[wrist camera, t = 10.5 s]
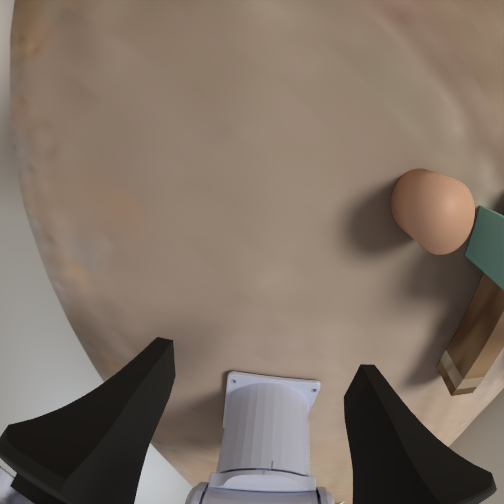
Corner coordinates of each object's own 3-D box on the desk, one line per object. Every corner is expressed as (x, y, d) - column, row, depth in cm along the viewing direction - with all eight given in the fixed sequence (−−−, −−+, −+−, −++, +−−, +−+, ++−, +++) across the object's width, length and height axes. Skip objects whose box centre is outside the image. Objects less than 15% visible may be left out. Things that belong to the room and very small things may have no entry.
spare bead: (435, 238, 17) (461, 259, 14) (383, 227, 17) (404, 248, 14) (451, 177, 15) (482, 189, 12) (398, 160, 15) (424, 168, 12)
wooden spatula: (457, 365, 22) (473, 392, 18) (435, 366, 22) (451, 396, 18) (528, 190, 14) (560, 204, 11) (509, 180, 15) (543, 192, 11)
